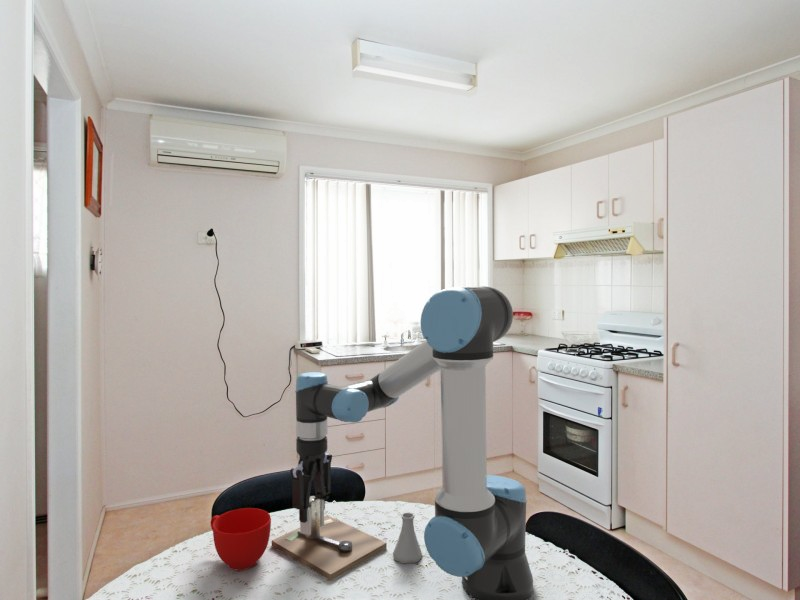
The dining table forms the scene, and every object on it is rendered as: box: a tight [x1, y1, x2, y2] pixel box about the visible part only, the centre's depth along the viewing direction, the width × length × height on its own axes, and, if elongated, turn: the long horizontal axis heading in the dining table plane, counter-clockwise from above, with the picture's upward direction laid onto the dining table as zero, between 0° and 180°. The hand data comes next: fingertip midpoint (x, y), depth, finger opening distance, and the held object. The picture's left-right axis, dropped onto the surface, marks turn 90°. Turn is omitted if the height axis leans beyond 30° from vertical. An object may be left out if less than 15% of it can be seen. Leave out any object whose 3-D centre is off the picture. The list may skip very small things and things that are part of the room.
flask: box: [392, 511, 424, 564], centre depth 124 cm, size 7×7×10 cm
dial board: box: [271, 515, 387, 582], centre depth 128 cm, size 22×18×2 cm
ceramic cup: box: [210, 507, 272, 571], centre depth 122 cm, size 13×17×10 cm
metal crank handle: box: [297, 495, 352, 552], centre depth 127 cm, size 16×4×10 cm, turn 60°
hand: (312, 528), depth 128 cm, fingers open, 4 cm apart
